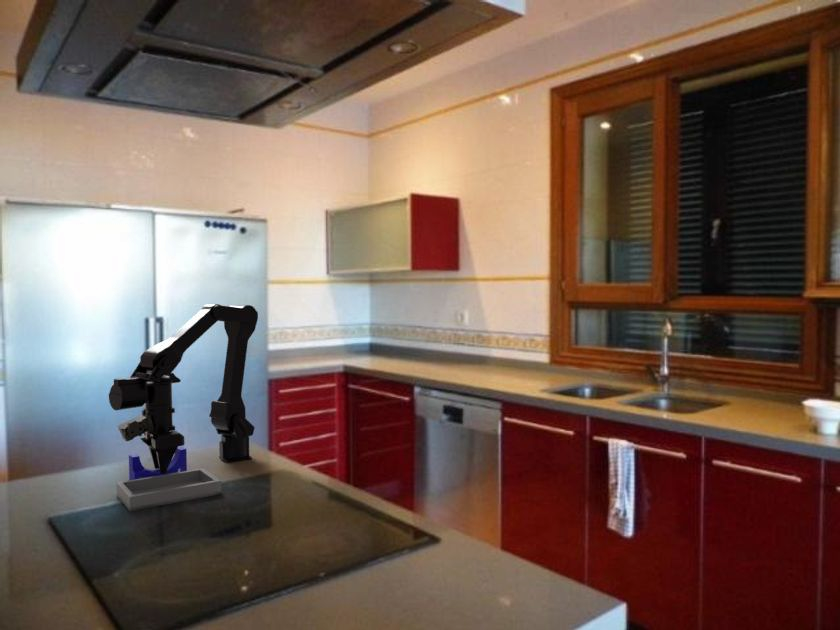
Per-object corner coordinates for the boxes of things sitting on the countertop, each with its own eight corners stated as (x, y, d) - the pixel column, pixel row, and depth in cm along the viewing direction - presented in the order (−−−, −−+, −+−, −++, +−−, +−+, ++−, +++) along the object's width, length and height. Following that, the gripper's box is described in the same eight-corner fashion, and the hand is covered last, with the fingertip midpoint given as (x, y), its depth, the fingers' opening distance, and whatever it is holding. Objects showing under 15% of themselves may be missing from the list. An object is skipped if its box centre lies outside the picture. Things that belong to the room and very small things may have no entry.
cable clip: (134, 485, 144) (134, 458, 144) (129, 480, 147) (128, 454, 147) (189, 475, 151) (188, 450, 151) (182, 471, 155) (182, 446, 155)
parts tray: (203, 481, 146) (203, 468, 146) (221, 494, 137) (221, 480, 137) (116, 496, 136) (116, 482, 136) (129, 512, 126) (129, 497, 126)
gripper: (112, 401, 152) (113, 467, 152) (130, 414, 137) (132, 487, 137) (161, 397, 158) (163, 460, 159) (184, 408, 143) (185, 478, 144)
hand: (160, 471), depth 149 cm, fingers closed on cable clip, 5 cm apart
